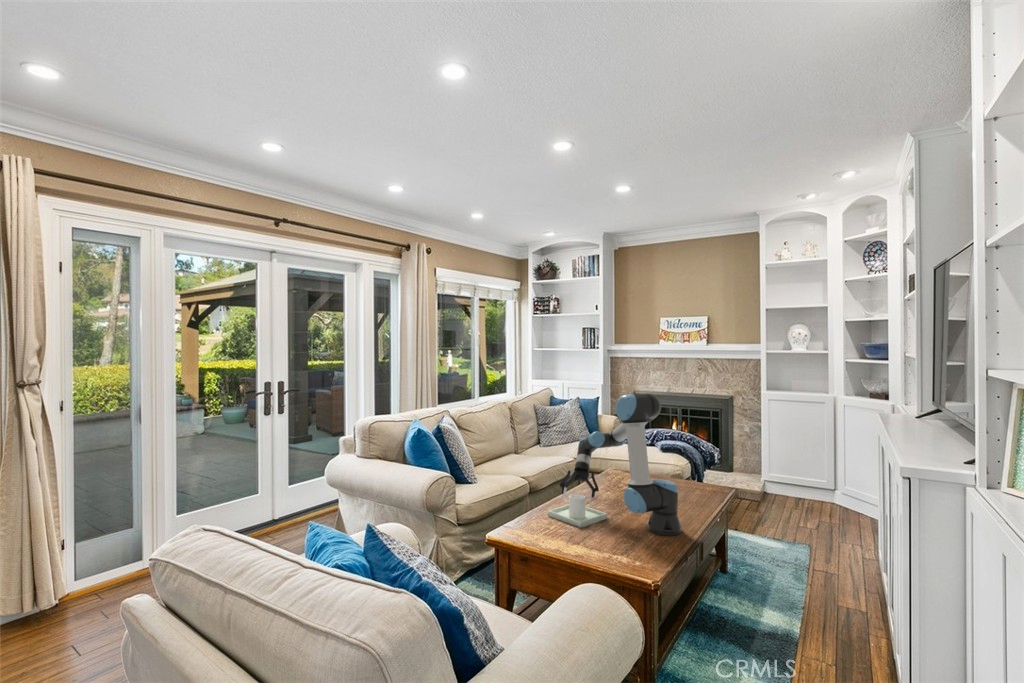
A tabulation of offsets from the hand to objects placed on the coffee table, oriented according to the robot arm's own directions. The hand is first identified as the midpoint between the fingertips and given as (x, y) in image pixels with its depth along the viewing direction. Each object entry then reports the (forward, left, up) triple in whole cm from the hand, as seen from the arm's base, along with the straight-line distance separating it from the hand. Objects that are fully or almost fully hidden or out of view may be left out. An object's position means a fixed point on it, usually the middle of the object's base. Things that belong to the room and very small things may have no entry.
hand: (576, 501), depth 256 cm
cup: (0, -1, -7) cm, 7 cm away
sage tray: (0, -1, -8) cm, 8 cm away
